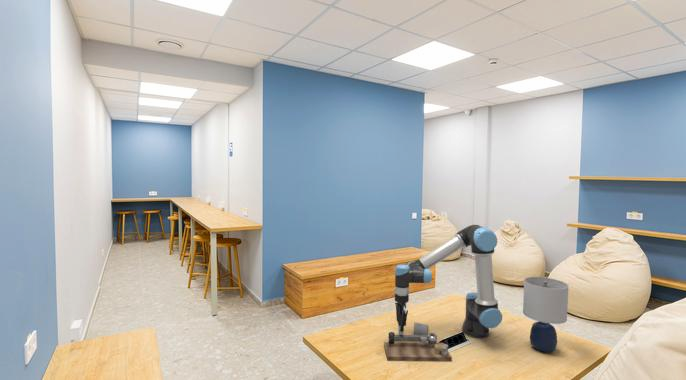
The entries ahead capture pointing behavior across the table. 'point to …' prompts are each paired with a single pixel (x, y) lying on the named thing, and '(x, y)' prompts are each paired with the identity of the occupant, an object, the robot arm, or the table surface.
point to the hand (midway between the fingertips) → (400, 336)
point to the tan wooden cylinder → (438, 348)
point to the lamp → (545, 309)
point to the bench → (415, 352)
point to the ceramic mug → (420, 329)
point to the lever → (412, 338)
